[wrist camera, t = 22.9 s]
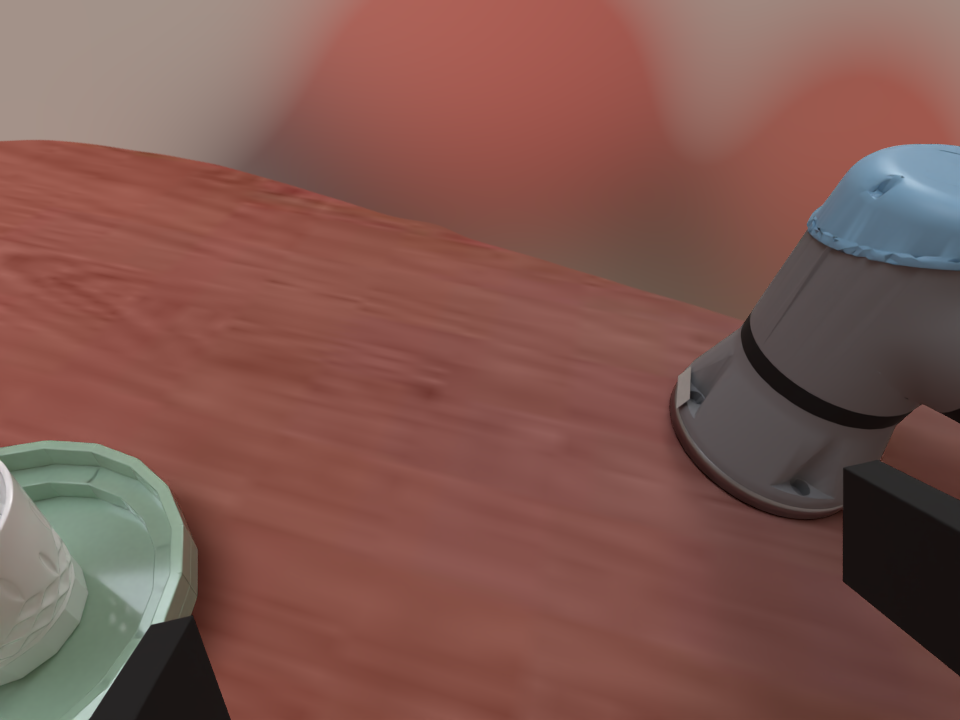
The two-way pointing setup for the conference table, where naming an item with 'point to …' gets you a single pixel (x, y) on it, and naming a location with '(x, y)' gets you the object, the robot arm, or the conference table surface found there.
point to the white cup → (33, 584)
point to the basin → (102, 568)
